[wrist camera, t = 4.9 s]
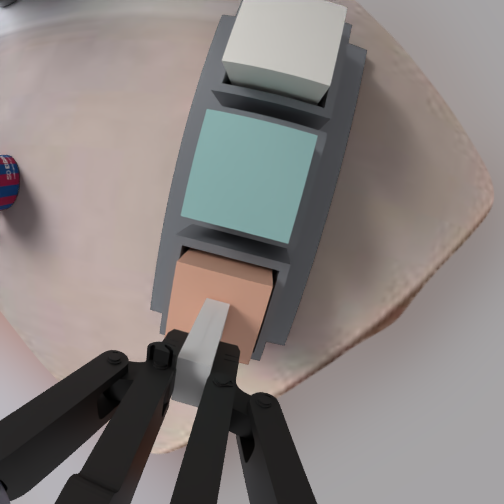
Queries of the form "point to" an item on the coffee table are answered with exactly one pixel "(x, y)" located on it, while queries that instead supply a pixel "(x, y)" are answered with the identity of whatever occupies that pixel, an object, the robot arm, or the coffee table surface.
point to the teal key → (248, 175)
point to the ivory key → (285, 47)
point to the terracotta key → (221, 296)
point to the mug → (8, 181)
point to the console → (313, 197)
